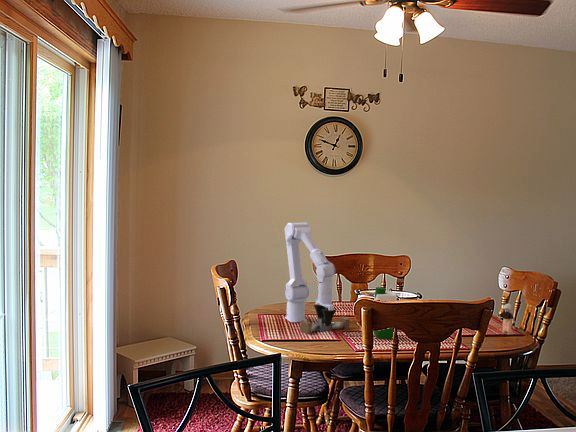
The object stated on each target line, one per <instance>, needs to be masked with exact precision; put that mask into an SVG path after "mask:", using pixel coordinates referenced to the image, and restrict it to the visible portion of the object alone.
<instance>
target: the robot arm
mask: <svg viewBox="0 0 576 432" xmlns="http://www.w3.org/2000/svg"><path fill="white" fill-rule="evenodd" d="M311 230H312V229H311V227H310V225H309V223H308V222H306V221H304V222H287V224H286V225H285V227H284V236H285V237H284V238H285V242H286V252H287V260H288V261H287V263H288V273H289V278H290V279H289V281H288V282H287V283H285V291H284V296H285V299H286V300H287V302H286V316H284V318H285V319H286V320H287V321H289V322H290V323H300V321H307V322H309V321H308V319H307V318H305V317H306V316H305V313H306V310H305V309H306V307H305V306H306V301H307V299H308V298H309V295H310V289H309V288H308V283H307V281H305V280H304V279H303V276H302V275H303V274H302V273H303V272H302V268H301V258H300V248H299V246H300V245H299V244H300V243H301V241H302V243H304V245H305V247H306V248H307V250H308V251H309V252H310V254H309V258H310V259H311V261H312V263H313V265H314V266H315V268H316V269H315V275H317V282H318V286H317V287H318V291H317V295H318V296H317V298H316V299H315V300H316V301H315V304H313V307H314V309H315V312H316V316H317V318H318V317H324V322H325V326H330V325H331V322H333V321H332V320H333V318H334V316H335V313H336V311H337V310H336V309H335V307H334V305H333V302H332V300H333V298H332V297H333V295H332V294H333V277H334V276H335V274H336V267H335V264H334V263H333V262H331V261H329V260H328V258H327V257H326V256H325V253H324V251H323V250H322V249H320V248H318V246H317V245H316V243H315V240H314V239H313V236H312V234H311V233H312V232H311Z"/></svg>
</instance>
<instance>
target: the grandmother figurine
mask: <svg viewBox="0 0 576 432" xmlns="http://www.w3.org/2000/svg"><path fill="white" fill-rule="evenodd" d="M502 309H503V310H504V311H502V312H501V313H499V315H498V320H501V319H502V318H503V320H502V331H501V333H502V334H506V335H513V334H514V333H513V331H512V324H515V323H516V322H515V316H514V315H513V314H512V312H511V310H512V305H511V304H510V303H505V304H504V305H503V307H502Z"/></svg>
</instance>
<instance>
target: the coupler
mask: <svg viewBox="0 0 576 432" xmlns="http://www.w3.org/2000/svg"><path fill="white" fill-rule="evenodd" d="M317 323H318V324H319V325H320V329H319V330H318V331H320V332H330V331H331V329H330V326H325V322H324V317H317Z"/></svg>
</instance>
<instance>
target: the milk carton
mask: <svg viewBox="0 0 576 432" xmlns="http://www.w3.org/2000/svg"><path fill="white" fill-rule="evenodd" d="M386 290H387V289H386V288H385V287H383V286H382V287H381V286H380V287H379V286H378V287H375V291H374V294H373V295H374V296H373V298H374V299H373V301H374V300H380V301H397V299H398V297H397V294H396V293H395V292H394V291H386ZM397 302H398V301H397ZM393 332H394V329H385V330H381V331H374V330H373V334H375V335H374V336H375V338H376V339H378V340H380V339H383V340H386V339H387V340H393V339H392V337H393Z"/></svg>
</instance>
